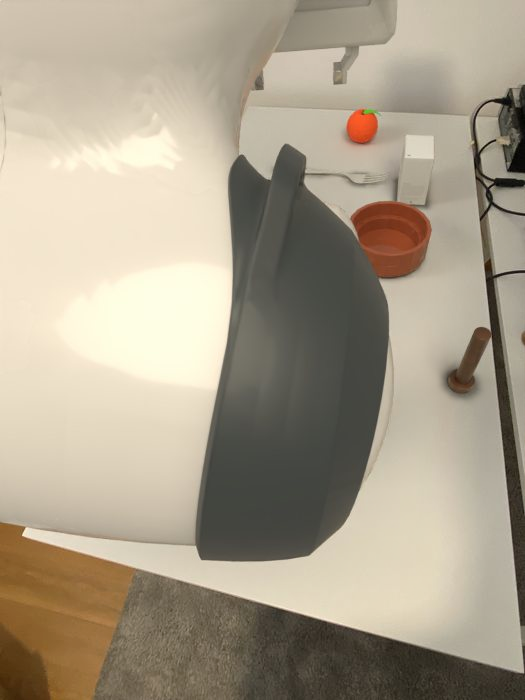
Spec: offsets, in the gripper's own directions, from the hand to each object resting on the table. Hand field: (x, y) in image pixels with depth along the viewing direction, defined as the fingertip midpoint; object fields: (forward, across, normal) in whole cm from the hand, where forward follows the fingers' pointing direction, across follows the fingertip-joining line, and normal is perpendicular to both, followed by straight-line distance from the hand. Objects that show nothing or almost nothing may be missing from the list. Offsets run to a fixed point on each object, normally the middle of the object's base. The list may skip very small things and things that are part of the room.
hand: (298, 84), depth 58 cm
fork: (+41, +6, +31) cm, 52 cm away
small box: (+40, +22, +24) cm, 52 cm away
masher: (+35, +23, -22) cm, 48 cm away
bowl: (+38, +15, +7) cm, 42 cm away
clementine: (+42, +15, +44) cm, 63 cm away
